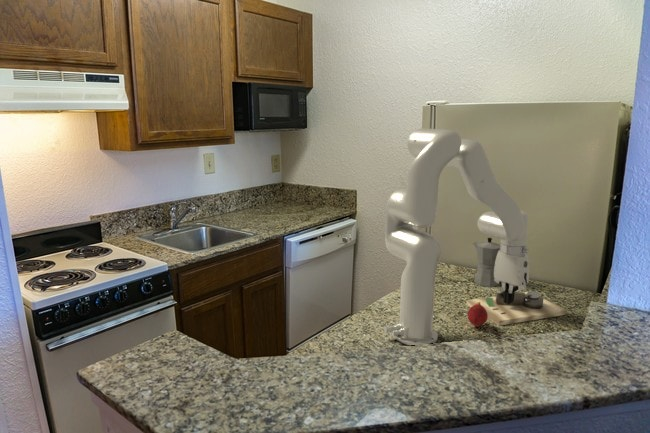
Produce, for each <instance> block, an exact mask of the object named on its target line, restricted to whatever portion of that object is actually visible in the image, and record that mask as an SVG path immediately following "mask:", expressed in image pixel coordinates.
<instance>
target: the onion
mask: <svg viewBox="0 0 650 433" xmlns="http://www.w3.org/2000/svg"><path fill="white" fill-rule="evenodd" d="M467 319H468V321H469V322H470V324H471V325H473V326H474V327H476V328H479V327H480V326H482V325H484V324H486V322H487V320H488V314H487V311H486V309H485V308H484V307H483V306H481V305H480V302H477V304H476V305H474V306H472V307H469V309H468V311H467Z"/></svg>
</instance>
